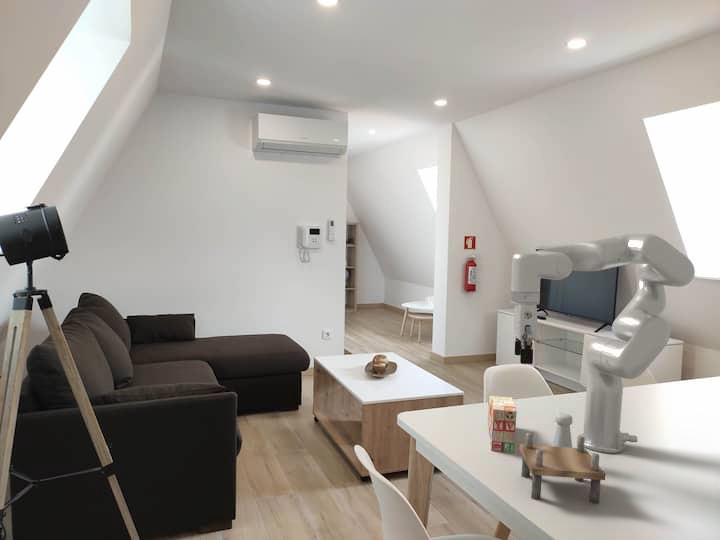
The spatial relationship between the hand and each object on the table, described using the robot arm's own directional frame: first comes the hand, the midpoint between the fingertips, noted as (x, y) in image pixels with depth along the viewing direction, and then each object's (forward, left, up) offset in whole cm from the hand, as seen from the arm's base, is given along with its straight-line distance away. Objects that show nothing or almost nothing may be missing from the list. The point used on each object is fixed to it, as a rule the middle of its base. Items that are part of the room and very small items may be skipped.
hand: (523, 359), depth 147 cm
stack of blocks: (+4, -9, -27) cm, 28 cm away
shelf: (-5, +21, -26) cm, 34 cm away
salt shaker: (-10, +5, -26) cm, 29 cm away
